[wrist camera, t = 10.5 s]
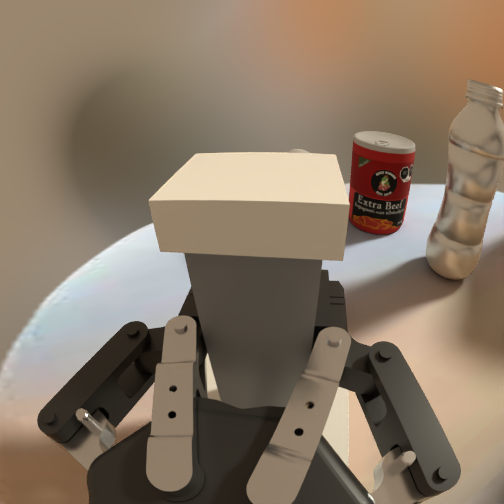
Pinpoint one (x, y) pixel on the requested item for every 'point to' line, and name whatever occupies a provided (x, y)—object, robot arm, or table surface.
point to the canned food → (380, 181)
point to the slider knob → (255, 260)
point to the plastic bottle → (468, 183)
